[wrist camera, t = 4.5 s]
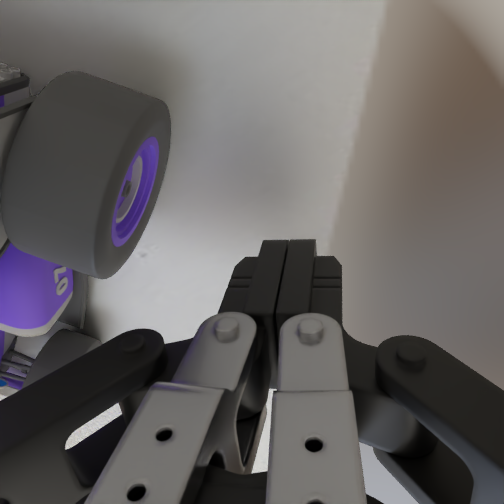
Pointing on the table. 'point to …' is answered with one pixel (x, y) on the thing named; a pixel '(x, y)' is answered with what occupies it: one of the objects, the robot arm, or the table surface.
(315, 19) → the table surface
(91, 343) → the toy race car
